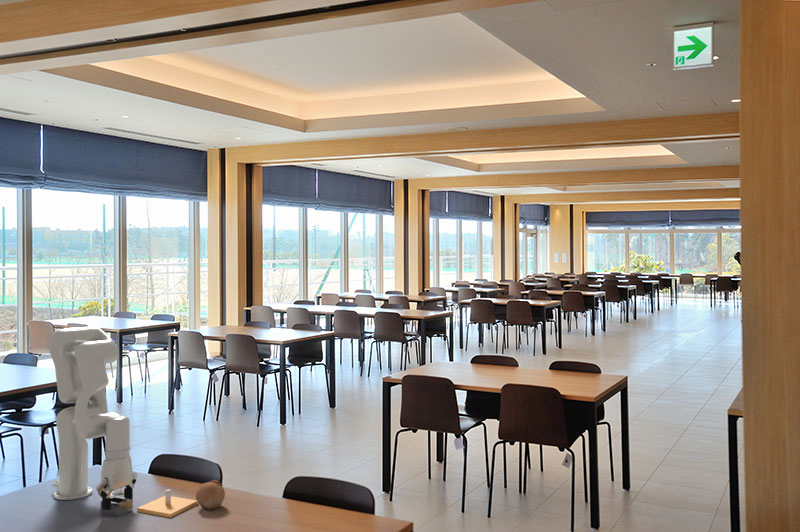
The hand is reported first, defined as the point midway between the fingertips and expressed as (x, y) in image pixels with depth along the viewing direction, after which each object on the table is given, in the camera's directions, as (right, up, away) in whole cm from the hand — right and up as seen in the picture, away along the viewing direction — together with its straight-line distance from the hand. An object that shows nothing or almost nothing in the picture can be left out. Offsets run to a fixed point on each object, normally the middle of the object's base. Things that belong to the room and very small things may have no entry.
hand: (117, 504), depth 231 cm
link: (-1, -3, 0) cm, 3 cm away
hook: (-5, -3, +15) cm, 16 cm away
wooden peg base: (+15, -3, +5) cm, 16 cm away
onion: (+30, -3, +6) cm, 30 cm away
